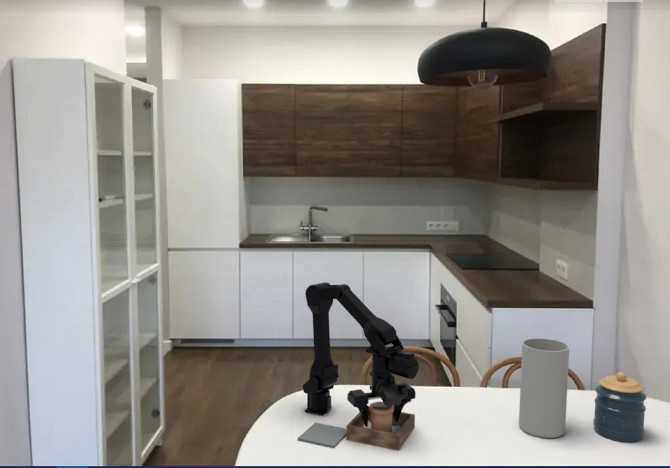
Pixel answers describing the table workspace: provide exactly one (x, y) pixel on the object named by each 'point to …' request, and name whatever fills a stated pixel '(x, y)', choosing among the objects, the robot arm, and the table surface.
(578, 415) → the table surface
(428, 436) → the table surface
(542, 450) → the table surface
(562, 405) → the cylinder vase
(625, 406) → the canister
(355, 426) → the brown wooden square frame
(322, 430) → the slate mat
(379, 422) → the terracotta pot
